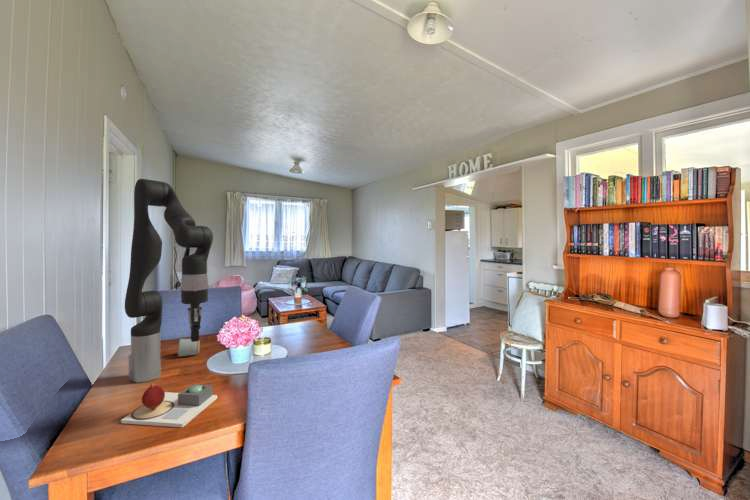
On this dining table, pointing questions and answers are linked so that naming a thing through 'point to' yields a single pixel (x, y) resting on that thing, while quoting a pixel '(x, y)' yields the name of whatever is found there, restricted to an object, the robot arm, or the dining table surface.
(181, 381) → the dining table surface
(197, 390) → the button
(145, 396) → the onion
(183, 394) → the button housing
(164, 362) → the dining table surface
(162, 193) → the robot arm
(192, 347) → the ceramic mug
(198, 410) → the picture board
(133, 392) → the dining table surface
